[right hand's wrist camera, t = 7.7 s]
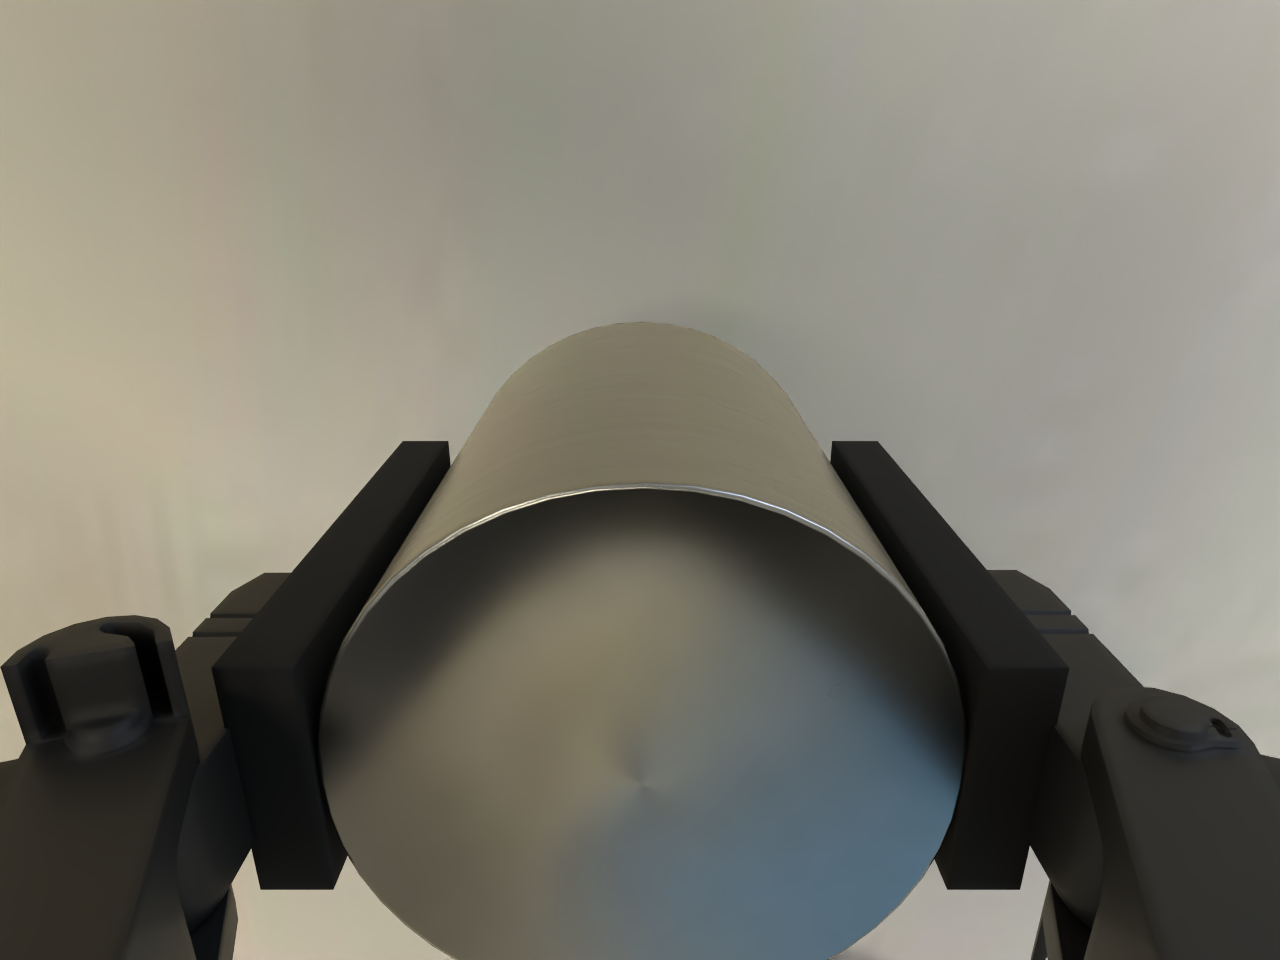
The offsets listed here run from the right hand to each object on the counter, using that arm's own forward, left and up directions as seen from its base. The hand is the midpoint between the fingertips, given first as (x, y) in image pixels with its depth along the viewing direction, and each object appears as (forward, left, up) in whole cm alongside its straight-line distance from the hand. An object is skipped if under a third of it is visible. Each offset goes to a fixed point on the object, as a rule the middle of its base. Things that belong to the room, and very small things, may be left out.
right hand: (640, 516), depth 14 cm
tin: (0, 0, -1) cm, 1 cm away
